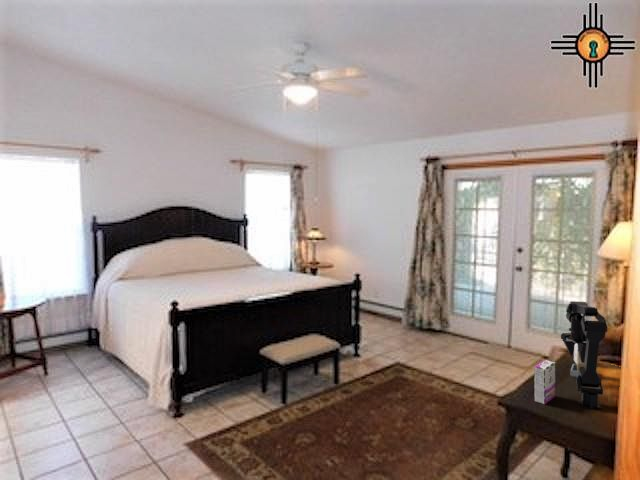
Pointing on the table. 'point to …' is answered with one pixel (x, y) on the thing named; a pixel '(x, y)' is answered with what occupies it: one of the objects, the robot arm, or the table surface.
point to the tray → (574, 371)
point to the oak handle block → (579, 363)
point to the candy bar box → (544, 381)
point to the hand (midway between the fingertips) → (577, 359)
